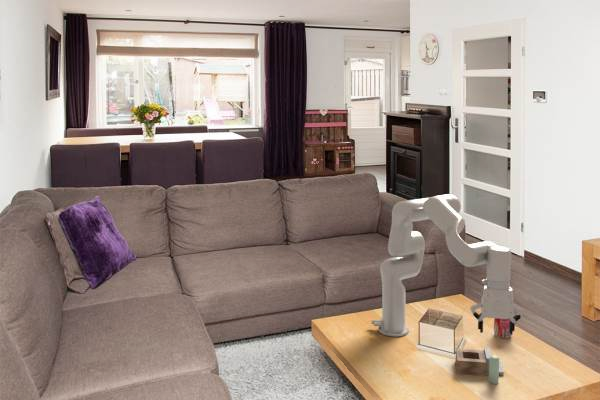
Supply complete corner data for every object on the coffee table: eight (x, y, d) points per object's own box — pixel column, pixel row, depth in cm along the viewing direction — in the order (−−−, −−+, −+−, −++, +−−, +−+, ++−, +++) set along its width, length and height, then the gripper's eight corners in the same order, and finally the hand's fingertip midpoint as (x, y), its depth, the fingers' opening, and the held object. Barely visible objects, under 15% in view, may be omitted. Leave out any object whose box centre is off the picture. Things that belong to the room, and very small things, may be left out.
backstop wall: (485, 374, 214) (486, 358, 213) (483, 362, 222) (484, 347, 221) (503, 375, 212) (504, 359, 211) (500, 364, 221) (501, 348, 220)
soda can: (498, 331, 251) (500, 303, 249) (515, 335, 246) (516, 307, 244) (490, 336, 246) (491, 308, 244) (506, 341, 241) (508, 312, 239)
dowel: (489, 383, 207) (490, 359, 205) (488, 379, 210) (489, 355, 208) (498, 384, 206) (500, 359, 205) (497, 380, 209) (499, 355, 208)
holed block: (456, 373, 214) (457, 360, 214) (455, 361, 224) (455, 348, 223) (486, 375, 212) (486, 362, 212) (483, 363, 222) (484, 350, 221)
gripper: (472, 286, 200) (470, 334, 203) (527, 288, 196) (524, 338, 199) (470, 279, 207) (468, 326, 210) (523, 281, 203) (521, 329, 207)
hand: (495, 332), depth 205 cm, fingers open, 9 cm apart
